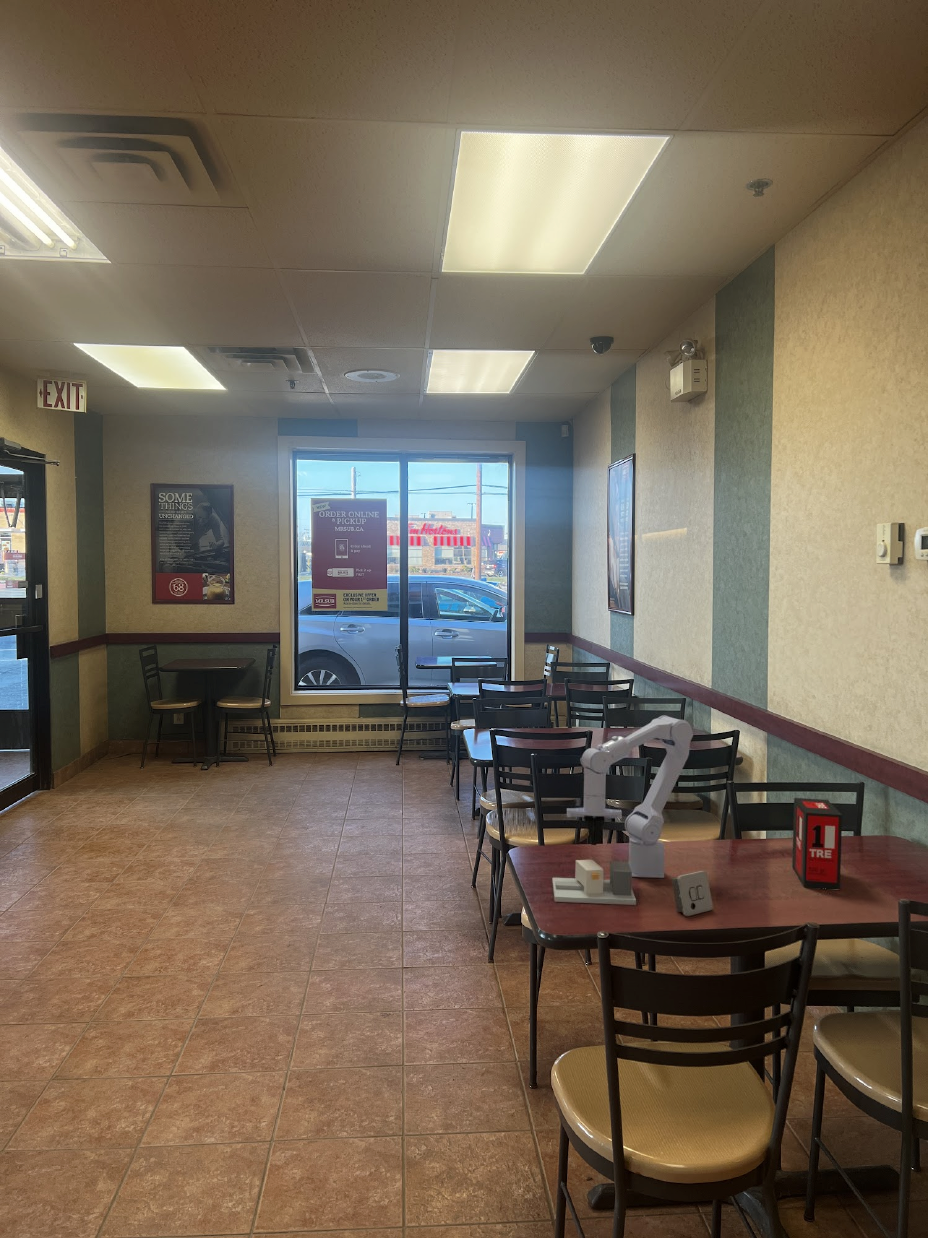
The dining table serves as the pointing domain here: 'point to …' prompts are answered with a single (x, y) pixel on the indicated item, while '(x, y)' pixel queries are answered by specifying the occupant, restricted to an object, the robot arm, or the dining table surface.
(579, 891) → the rail plate
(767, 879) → the dining table surface
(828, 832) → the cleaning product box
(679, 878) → the electrical switch
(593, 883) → the block
